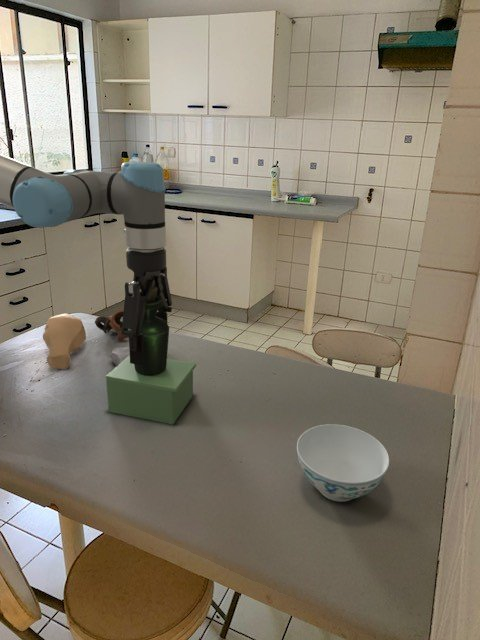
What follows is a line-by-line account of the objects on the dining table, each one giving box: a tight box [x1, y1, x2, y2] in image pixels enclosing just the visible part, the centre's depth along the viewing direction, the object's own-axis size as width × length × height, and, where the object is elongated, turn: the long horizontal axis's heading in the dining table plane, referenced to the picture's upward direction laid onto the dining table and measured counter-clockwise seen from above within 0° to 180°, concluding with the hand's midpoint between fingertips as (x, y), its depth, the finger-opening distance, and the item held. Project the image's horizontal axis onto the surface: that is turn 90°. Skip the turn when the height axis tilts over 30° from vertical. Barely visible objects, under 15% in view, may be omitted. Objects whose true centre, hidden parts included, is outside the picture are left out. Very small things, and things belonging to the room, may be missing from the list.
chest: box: [105, 370, 194, 425], centre depth 100 cm, size 15×12×8 cm
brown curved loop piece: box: [94, 309, 129, 342], centre depth 133 cm, size 12×10×8 cm
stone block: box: [110, 346, 130, 367], centre depth 118 cm, size 12×5×10 cm
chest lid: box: [105, 355, 197, 392], centre depth 98 cm, size 15×12×1 cm
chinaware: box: [296, 423, 390, 502], centre depth 78 cm, size 15×15×8 cm
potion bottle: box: [134, 287, 170, 376], centre depth 95 cm, size 8×8×18 cm
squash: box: [42, 313, 87, 370], centre depth 121 cm, size 11×20×9 cm, turn 15°
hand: (150, 351), depth 97 cm, fingers open, 11 cm apart
